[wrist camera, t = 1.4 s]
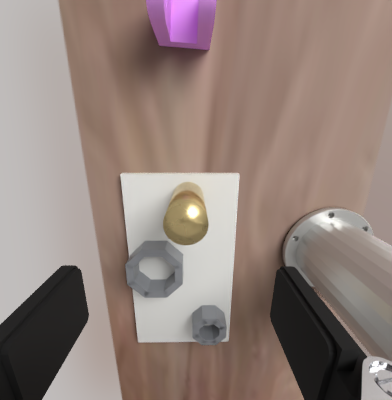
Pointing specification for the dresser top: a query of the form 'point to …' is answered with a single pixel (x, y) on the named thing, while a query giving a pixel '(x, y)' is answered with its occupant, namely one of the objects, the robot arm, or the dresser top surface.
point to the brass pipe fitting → (186, 215)
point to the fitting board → (196, 256)
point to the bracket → (182, 22)
